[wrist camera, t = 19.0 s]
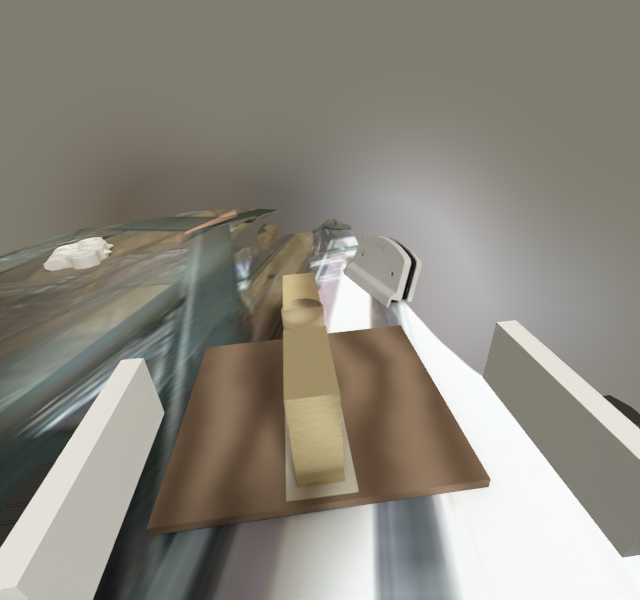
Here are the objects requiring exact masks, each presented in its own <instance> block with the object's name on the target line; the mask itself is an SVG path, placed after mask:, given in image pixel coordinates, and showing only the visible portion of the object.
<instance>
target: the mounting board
mask: <svg viewBox="0 0 640 600" xmlns="http://www.w3.org/2000/svg"><path fill="white" fill-rule="evenodd" d="M281 313H282V320H283V327H284V330H290V329H299V328H308V327H317V326H324V313H323V305H322V303H321V302H320V299H319V294H318V290H317V285H316V280H315V276H314V273H304V274H294V275H285V276H283V307H282V309H281ZM327 335H328V340H329V344H330V349H331V353H332V358H333V363H334V367H335V372H336V376H337V381H338V386H339V390H340V399H341V418H342V436H343V455H344V474H345V481H344V482H337V483H330V484H323V485H316V486H308V487H301V488H298V485H297V479H296V473H295V467H294V461H293V455H292V449H291V443H290V436H289V430H288V424H287V418H286V412H285V406H284V383H283V339H277V340H269V341H260V342H251V343H243V344H234V345H225V346H216V347H208V348H206V351H205V354H204V357H203V360H202V363H201V366H200V369H199V372H198V375H197V378H196V381H195V384H194V387H193V390H192V393H191V396H190V399H189V402H188V405H187V408H186V411H185V414H184V417H183V420H182V423H181V426H180V429H179V432H178V435H177V438H176V441H175V444H174V447H173V450H172V453H171V456H170V459H169V462H168V465H167V468H166V471H165V474H164V477H163V480H162V483H161V486H160V489H159V492H158V495H157V498H156V501H155V504H154V507H153V510H152V513H151V517H150V520H149V523H148V526H147V531H148V532H149V534H150V536H152V535H159V534H165V533H172V532H179V531H186V530H193V529H200V528H207V527H214V526H221V525H228V524H234V523H241V522H248V521H255V520H262V519H269V518H276V517H283V516H290V515H297V514H304V513H310V512H317V511H324V510H331V509H338V508H345V507H352V506H359V505H366V504H373V503H379V502H386V501H393V500H400V499H407V498H414V497H421V496H428V495H435V494H442V493H449V492H455V491H462V490H469V489H476V488H483V487H488V486H489V483H490V478H489V476H488V474H487V473H486V471H485V469H484V467H483V466H482V464H481V462H480V461H479V459H478V457H477V456H476V454H475V452H474V450H473V449H472V447H471V445H470V444H469V442H468V440H467V438H466V437H465V435H464V433H463V432H462V430H461V428H460V426H459V425H458V423H457V421H456V420H455V418H454V416H453V414H452V413H451V411H450V409H449V408H448V406H447V404H446V402H445V401H444V399H443V397H442V396H441V394H440V392H439V390H438V389H437V387H436V385H435V384H434V382H433V380H432V378H431V377H430V375H429V373H428V372H427V370H426V368H425V367H424V365H423V363H422V361H421V360H420V358H419V356H418V355H417V353H416V351H415V349H414V348H413V346H412V344H411V343H410V341H409V339H408V337H407V336H406V334H405V332H404V331H403V329H402V327H401V325H399V326H391V327H382V328H373V329H365V330H356V331H347V332H338V333H330V334H327Z"/></svg>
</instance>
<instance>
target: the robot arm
mask: <svg viewBox="0 0 640 600" xmlns="http://www.w3.org/2000/svg"><path fill="white" fill-rule="evenodd" d="M483 378H484V379H485V381H486V382H487V383H488V384H489V386H490V387H491V388H492V390H493V391H494V392H495V393H496V395H497V396H498V397H499V399H500V400H501V401H502V402H503V404H504V405H505V406H506V408H507V409H508V410H509V412H510V413H511V414H512V415H513V417H514V418H515V419H516V421H517V422H518V423H519V424H520V426H521V427H522V428H523V430H524V431H525V432H526V434H527V435H528V436H529V437H530V439H531V440H532V441H533V443H534V444H535V445H536V446H537V448H538V449H539V450H540V452H541V453H542V454H543V455H544V457H545V458H546V459H547V461H548V462H549V463H550V465H551V466H552V467H553V468H554V470H555V471H556V472H557V474H558V475H559V476H560V477H561V479H562V480H563V481H564V483H565V484H566V485H567V487H568V488H569V489H570V490H571V492H572V493H573V494H574V496H575V497H576V498H577V499H578V501H579V502H580V503H581V505H582V506H583V507H584V508H585V510H586V511H587V512H588V514H589V515H590V516H591V518H592V519H593V520H594V521H595V523H596V524H597V525H598V527H599V528H600V529H601V530H602V532H603V533H604V534H605V536H606V537H607V538H608V539H609V541H610V542H611V543H612V545H613V546H614V547H615V549H616V550H617V551H618V552H619V554H620V555H621V556H622V557H629V556H635V555H640V414H639V413H638V412H637V411H635V410H634V409H633V408H632V407H630V406H628V405H627V404H625V403H623V402H621V401H619V400H617V399H616V398H614V397H612V396H610V395H608V396H602V395H600V394H599V393H598V392H597V391H596V390H595V389H594V388H592V387H591V386H590V385H589V384H588V383H587V382H585V381H584V380H583V379H582V378H581V377H580V376H579V375H577V374H576V373H575V372H574V371H573V370H572V369H571V368H570V367H568V366H567V365H566V364H565V363H564V362H563V361H561V360H560V359H559V358H558V357H557V356H556V355H555V354H553V353H552V352H551V351H550V350H549V349H548V348H547V347H545V346H544V345H543V344H542V343H541V342H540V341H539V340H537V339H536V338H535V337H534V336H533V335H532V334H531V333H529V332H528V331H527V330H526V329H525V328H524V327H522V326H521V325H520V324H519V323H518V322H517V321H516V320H515V321H505V322H497V323H496V327H495V331H494V335H493V338H492V342H491V346H490V351H489V354H488V359H487V362H486V366H485V370H484V374H483ZM163 415H164V410H163V408H162V405H161V402H160V400H159V397H158V395H157V392H156V389H155V387H154V384H153V382H152V379H151V376H150V374H149V371H148V369H147V366H146V364H145V361H144V358H138V359H128V360H121V361H120V363H119V364H118V366H117V367H116V369H115V370H114V372H113V373H112V375H111V377H110V378H109V380H108V381H107V383H106V384H105V386H104V387H103V389H102V391H101V392H100V394H99V395H98V397H97V398H96V400H95V401H94V403H93V405H92V406H91V408H90V409H89V411H88V412H87V414H86V415H85V417H84V419H83V420H82V422H81V423H80V425H79V426H78V428H77V429H76V431H75V433H74V434H73V436H72V437H71V439H70V440H69V442H68V443H67V445H66V447H65V448H64V450H63V451H62V453H61V454H60V456H59V457H58V459H57V461H56V462H55V463H47V464H40V465H39V466H38V467H37V468H36V469H35V470H34V471H33V472H32V473H31V474H29V475H28V476H27V477H26V478H25V479H24V480H23V481H22V482H21V483H20V484H19V485H18V487H17V488H16V490H15V491H14V492H13V494H12V495H11V497H10V498H9V500H8V501H7V502H6V504H5V508H4V509H2V510H1V511H0V600H93V598H94V595H95V592H96V590H97V587H98V585H99V582H100V579H101V577H102V574H103V572H104V569H105V566H106V564H107V561H108V559H109V556H110V553H111V551H112V548H113V546H114V543H115V540H116V538H117V535H118V532H119V530H120V527H121V525H122V522H123V519H124V517H125V514H126V512H127V509H128V506H129V504H130V501H131V499H132V496H133V493H134V491H135V488H136V486H137V483H138V480H139V478H140V475H141V473H142V470H143V467H144V465H145V462H146V460H147V457H148V454H149V452H150V449H151V447H152V444H153V441H154V439H155V436H156V434H157V431H158V428H159V426H160V423H161V421H162V418H163Z"/></svg>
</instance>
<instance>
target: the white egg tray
mask: <svg viewBox="0 0 640 600" xmlns="http://www.w3.org/2000/svg"><path fill="white" fill-rule="evenodd" d="M112 246H114V245H110V244H107V243H106V241H105V240H103V239H102V238H101V237H94V238H88V239H84V240H81V241H79V242H77V243H74V244H70V245H64V246H61V247H58V248H57V249H56V250H55V251H54V252H53V254H52V255H51V256H50V257H49V259H48V260H47V262H45V263H44V264H43V265H44V268H45V269H47V270H50V271H54V270H59V269H64V268H69V267H71V268H74V269H85V268H89V267H93V266H96V265H98V264H100V261H101V260H103V259H105V258H107V257H108V256H109V253H111V252H112V251H110V250H109V249H110V248H111V247H112Z"/></svg>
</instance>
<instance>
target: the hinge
mask: <svg viewBox="0 0 640 600" xmlns="http://www.w3.org/2000/svg"><path fill="white" fill-rule="evenodd" d="M420 269H421V261H420V259H419V258H418V257H417V255H415V253H414V252H413V251H412V250H411V249H410V248H409V247H407V246H406V245H404V244H403V243H401V242H399V241H397V240H395V239H392V238H389V237H384V236H378V235H376V236H364V237H362V239H361V241H360V243H359V246H358V248H357V251H356V254H355V256H354V259H353V261H352V262H351V263H350V264H348V265H347V266H346V270H345V273H344V274H345V275H346V276H348V277H349V278H350V279H351V280H353V281H354V282H355V283H356V284H358V285H359V286H360V287H361V288H363V289H364V290H365V291H366V292H368V293H369V294H370V295H371V296H373V297H374V298H375V299H376V300H377V301H379V302H380V303H381V304H382V305H384V306H385V307H389V305H390V302H391V300H397V301H401V299H404V300H405V301H407V302H412V298H413V295H414V291H415V287H416V284H417V280H418V277H419V272H420Z"/></svg>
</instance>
